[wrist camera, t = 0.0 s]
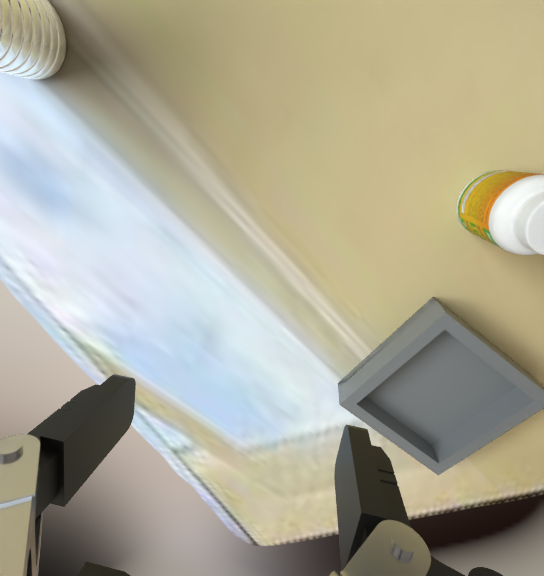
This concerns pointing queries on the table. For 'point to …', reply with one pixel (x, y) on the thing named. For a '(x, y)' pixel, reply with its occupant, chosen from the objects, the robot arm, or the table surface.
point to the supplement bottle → (505, 210)
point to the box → (439, 389)
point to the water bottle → (30, 39)
